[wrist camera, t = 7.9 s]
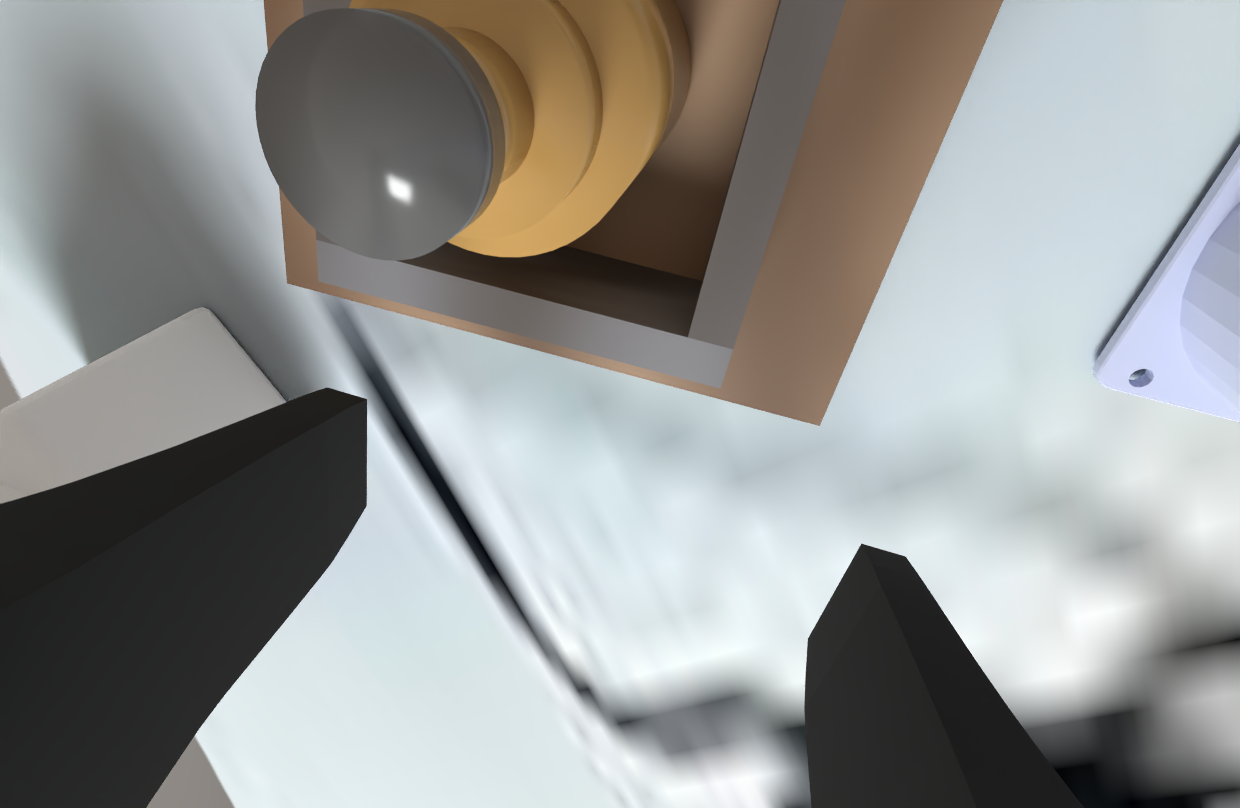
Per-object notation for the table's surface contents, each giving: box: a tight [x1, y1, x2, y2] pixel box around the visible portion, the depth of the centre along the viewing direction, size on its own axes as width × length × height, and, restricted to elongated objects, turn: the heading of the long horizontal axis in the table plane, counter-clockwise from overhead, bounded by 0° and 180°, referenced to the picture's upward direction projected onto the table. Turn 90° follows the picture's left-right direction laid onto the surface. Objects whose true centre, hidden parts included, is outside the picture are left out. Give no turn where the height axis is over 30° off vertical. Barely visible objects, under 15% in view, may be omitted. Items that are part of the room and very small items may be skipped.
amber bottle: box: [256, 0, 691, 261], centre depth 11 cm, size 5×5×10 cm
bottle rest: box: [264, 0, 1003, 426], centre depth 14 cm, size 16×14×4 cm
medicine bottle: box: [0, 307, 286, 504], centre depth 19 cm, size 7×7×12 cm
